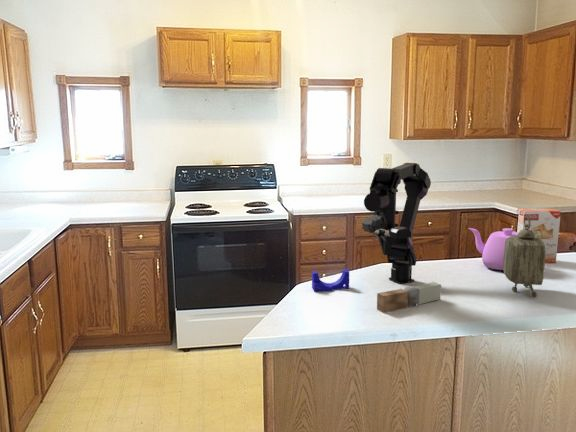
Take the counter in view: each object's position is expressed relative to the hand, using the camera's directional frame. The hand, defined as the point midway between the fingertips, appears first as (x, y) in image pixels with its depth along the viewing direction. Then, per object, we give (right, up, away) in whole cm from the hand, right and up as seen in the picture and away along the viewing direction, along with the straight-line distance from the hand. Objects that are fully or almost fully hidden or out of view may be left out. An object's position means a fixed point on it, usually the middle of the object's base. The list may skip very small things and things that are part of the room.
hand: (385, 254), depth 168 cm
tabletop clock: (+44, -12, 0) cm, 46 cm away
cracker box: (+66, -6, +37) cm, 76 cm away
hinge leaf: (+9, -14, -10) cm, 19 cm away
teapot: (+50, -7, +29) cm, 58 cm away
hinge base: (+1, -15, -14) cm, 20 cm away
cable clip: (-17, -12, +4) cm, 22 cm away
